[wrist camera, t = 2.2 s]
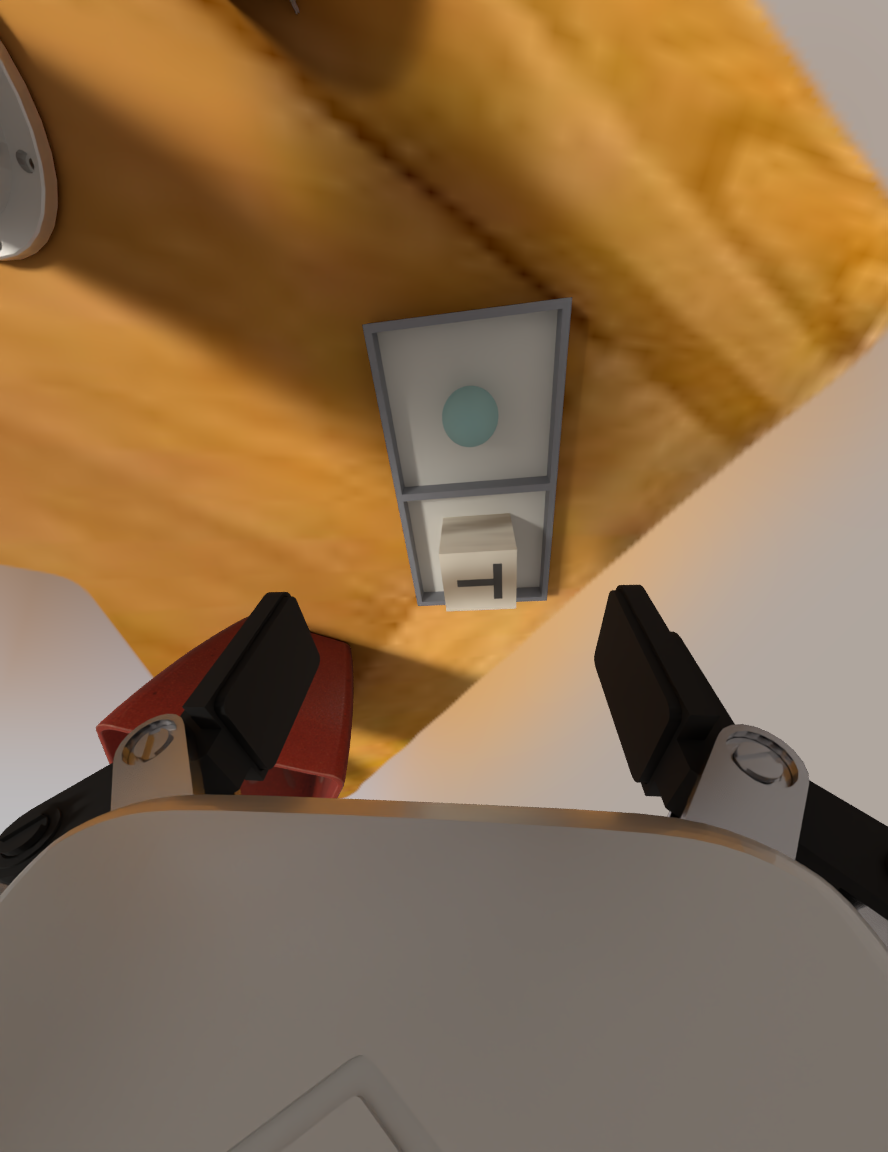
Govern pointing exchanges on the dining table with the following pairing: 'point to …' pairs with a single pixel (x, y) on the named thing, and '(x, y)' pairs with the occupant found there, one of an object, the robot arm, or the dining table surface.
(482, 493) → the compartment box
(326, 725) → the plant pot
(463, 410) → the teal ball
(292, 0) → the fruit
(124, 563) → the dining table surface
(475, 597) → the letter cube
